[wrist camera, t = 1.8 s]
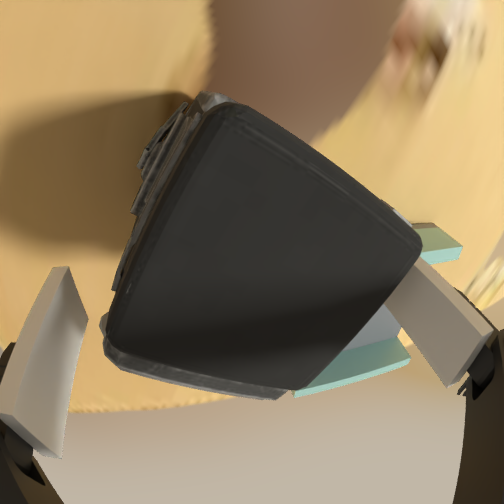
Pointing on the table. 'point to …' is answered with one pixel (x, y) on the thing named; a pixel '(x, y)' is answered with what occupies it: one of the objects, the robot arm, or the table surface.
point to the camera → (247, 257)
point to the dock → (381, 328)
